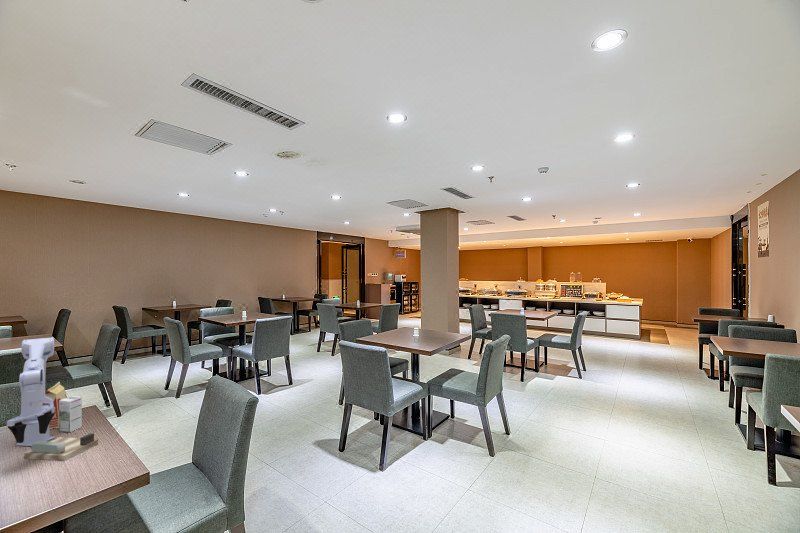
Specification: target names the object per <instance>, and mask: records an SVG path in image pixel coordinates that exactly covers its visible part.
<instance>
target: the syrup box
mask: <svg viewBox="0 0 800 533" xmlns="http://www.w3.org/2000/svg"><path fill="white" fill-rule="evenodd" d="M82 402H83V401H82V396H68V397H67V398H64V399H62V400H59V428H58V429H59V430H58V431H59V433H72V432H74V430H75V431H77V430H78V428H79V429H81V428H83V426H82V425H83V423H82V422H83V421H82V420H83V419H82V418H83V417H82V415H83V414H82V411H83V410H82V407H83V406H82V404H83V403H82ZM80 427H81V428H80ZM76 429H77V430H76Z"/></svg>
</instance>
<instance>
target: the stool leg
mask: <svg viewBox="0 0 800 533" xmlns="http://www.w3.org/2000/svg"><path fill="white" fill-rule="evenodd" d="M31 450H32V452H46V453H61V452H64V451H65V442H51V441H38V442H35V443H33V444H32V446H31Z"/></svg>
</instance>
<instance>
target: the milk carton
mask: <svg viewBox="0 0 800 533" xmlns="http://www.w3.org/2000/svg"><path fill="white" fill-rule="evenodd" d="M45 396H47V397H49V398H52V399H53V403H54V407H55V410H54V416H53V418H52V419H51V421H50V423H49V430H54V429H53V428H56V429H59V400H62V399H64V398H67V393H66V390H65V387H64V386H63V385H61V382H60V381H58V382H57V383H56V384H54V386H51V387H50V388H49V389H47V391H45ZM43 404H48V403H43Z"/></svg>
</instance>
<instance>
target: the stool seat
mask: <svg viewBox="0 0 800 533" xmlns="http://www.w3.org/2000/svg"><path fill="white" fill-rule="evenodd" d="M50 442H65V451H64V452H61V453H46V452H32V449H30V450H28V451H26V452H24V453H23V459H29V460H46V461H47V460H48V461H63V462H65V461H67V460H70V459H71V458H73V457H75V456H77V455H79V454H81V453H83V452H85V451H87V450H89V449H91V448H93V447H96V446H97V445H99V439H98V438H95V433H87V434H86V435H84V436H81V437H63V436H60V437H57V438H54V439H52V440H50Z"/></svg>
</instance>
